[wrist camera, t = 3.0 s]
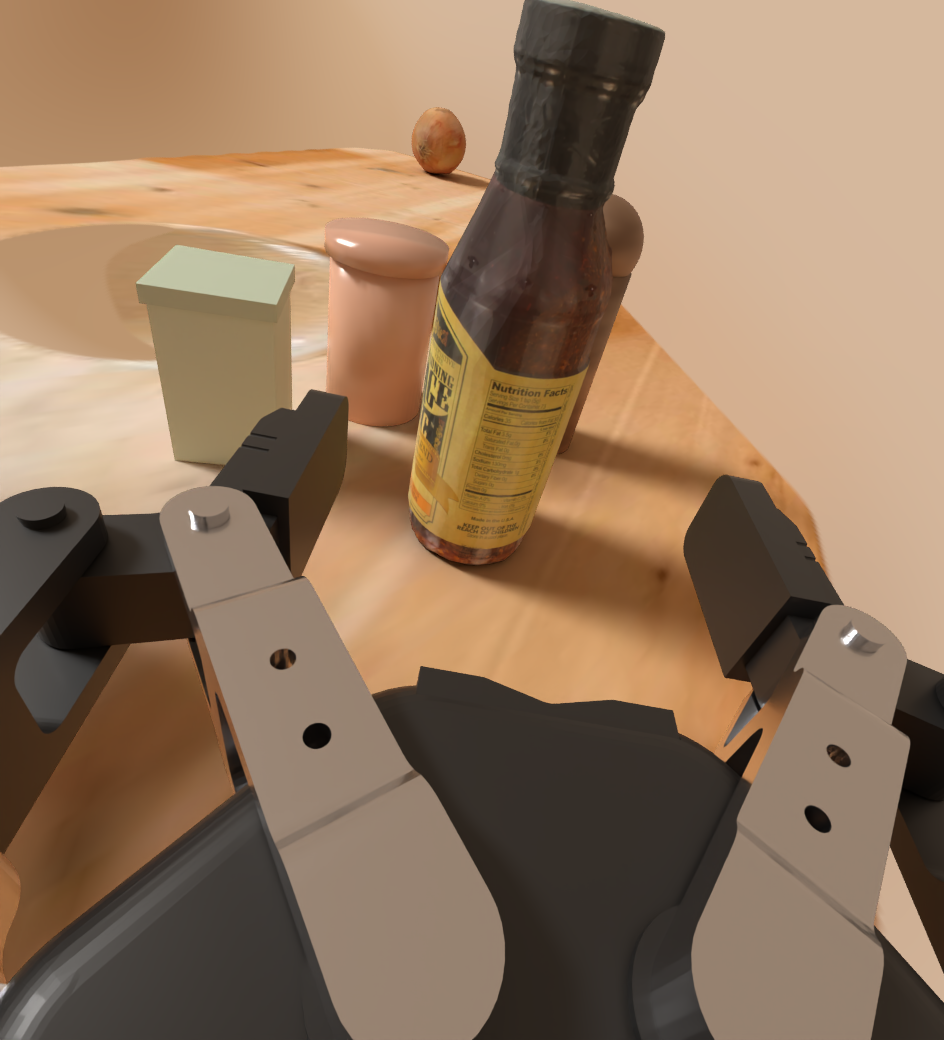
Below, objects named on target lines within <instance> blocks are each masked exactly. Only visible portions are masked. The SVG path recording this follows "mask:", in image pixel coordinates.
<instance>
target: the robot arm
mask: <svg viewBox="0 0 944 1040" xmlns="http://www.w3.org/2000/svg"><path fill="white" fill-rule="evenodd" d="M348 413H349V402H348V397H347V396H342V395H337V394H332V393H327V392H322V391H317V390H312V389H311V390H310V391H309V392H308V393H307V395H306V396H305V398H304V399H303V401H302V402H301V404H300V405H299V406H298V408H297V409H296V411H295V410H290V409H285V408H279V409H278V410H276V411H274V412H272V413H270V414H268V415H266V416H264V417H262V418H261V419H260V420H259V422H258V423H257V424H256V426H255V427H254V428H253V430H252V431H251V432H250V435H248V436H247V437H246V439H245V440H244V441H243V443H242V444H241V447H239V448H238V449H237V451H236V452H235V453H234V455H233V456H232V457H231V459H230V460H229V461H228V462H227V464H226V465H225V466H224V468H223V469H222V470H221V472H220V473H219V474H218V476H217V477H216V478H215V480H214V481H213V482H212V484H211V485H210V486H206V487H199V488H194V489H190V490H187V491H185V492H182V493H180V494H178V495H176V496H175V497H173V498H172V499H170V500H169V501H168V502H167V503H166V504H165V505H164V507H163V508H162V510H161V512H160V513H153V514H130V515H102V513H101V510H100V506H99V503H98V502H97V500H96V499H95V498H94V497H93V496H92V495H90V494H88V493H87V492H84V491H81V490H78V489H74V488H66V487H48V488H40V489H34V490H30V491H26V492H23V493H20V494H17V495H14V496H12V497H10V498H8V499H6V500H4V501H2V502H1V503H0V1040H944V1002H943V1001H942V1000H940V998H939V997H938V996H937V995H936V994H935V993H934V991H933V990H932V989H931V988H930V987H929V986H928V985H927V984H926V982H925V981H924V980H923V979H922V978H921V977H920V976H919V975H918V974H917V973H916V971H915V970H914V969H913V968H912V967H911V966H910V965H909V964H908V962H906V960H905V959H904V958H903V957H902V956H901V955H900V954H899V953H898V951H897V950H896V949H895V948H894V947H893V946H892V945H891V944H890V942H889V941H888V940H887V939H886V938H885V937H884V936H883V935H882V934H881V932H880V931H879V930H878V929H877V928H876V927H875V926H874V919H875V914H876V909H877V904H878V899H879V894H880V890H881V885H882V880H883V875H884V870H885V865H886V860H887V856H888V851H889V846H890V848H891V850H892V852H893V855H894V857H895V860H896V862H897V864H898V867H899V869H900V871H901V874H902V876H903V878H904V881H905V883H906V885H907V888H908V890H909V893H910V895H911V897H912V900H913V902H914V904H915V907H916V909H917V911H918V914H919V916H920V919H921V921H922V923H923V926H924V928H925V930H926V933H927V935H928V937H929V940H930V942H931V945H932V947H933V949H934V951H935V954H936V956H937V958H938V961H939V963H940V966H941V968H942V971H943V973H944V674H942V673H939V672H937V671H935V670H932V669H930V668H927V667H925V666H923V665H920V664H918V663H915V662H913V661H911V660H908V659H907V656H906V652H905V650H904V647H903V646H902V644H901V642H900V641H899V640H898V639H897V637H896V636H895V635H894V634H893V633H892V632H891V631H890V630H889V629H888V628H887V627H886V626H884V625H883V624H882V623H880V622H879V621H878V620H876V619H875V618H873V617H871V616H870V615H868V614H866V613H864V612H862V611H860V610H857V609H855V608H851V607H848V606H844V604H843V603H842V601H841V599H840V598H839V596H838V594H837V593H836V591H835V589H834V588H833V586H832V584H831V583H830V581H829V579H828V578H827V576H826V574H825V573H824V571H823V569H822V568H821V566H820V564H819V563H818V562H816V561H815V559H816V558H815V556H814V554H813V553H812V551H811V549H810V548H809V547H807V543H806V541H805V539H804V538H803V536H802V534H801V533H800V531H799V529H798V528H797V526H796V525H795V524H794V523H793V522H792V521H791V520H790V519H789V518H787V517H786V516H785V515H784V514H783V513H782V512H781V511H780V510H779V509H777V508H776V507H775V505H774V503H773V501H772V500H771V498H770V496H769V494H768V493H767V491H766V489H765V488H764V486H763V484H762V483H760V482H758V481H754V480H749V479H744V478H739V477H734V476H729V475H722V476H721V477H719V478H718V479H717V480H716V481H715V483H714V485H713V486H712V488H711V490H710V491H709V493H708V495H707V497H706V498H705V500H704V502H703V504H702V505H701V507H700V509H699V511H698V512H697V514H696V516H695V517H694V519H693V521H692V523H691V524H690V526H689V528H688V530H687V533H686V536H685V540H684V557H685V560H686V563H687V566H688V569H689V572H690V575H691V578H692V581H693V584H694V587H695V590H696V593H697V596H698V599H699V602H700V605H701V608H702V611H703V614H704V617H705V620H706V623H707V626H708V629H709V632H710V635H711V638H712V641H713V644H714V647H715V650H716V653H717V656H718V659H719V662H720V666H721V669H722V672H723V675H724V677H725V678H730V679H736V680H741V681H747V682H751V684H752V687H753V689H752V690H751V691H750V692H749V693H748V695H747V696H746V697H745V698H744V699H743V701H742V703H741V705H740V707H739V708H738V710H737V712H736V714H735V716H734V717H733V719H732V721H731V723H730V725H729V726H728V728H727V730H726V732H725V734H724V735H723V737H722V739H721V741H720V743H719V744H718V746H717V748H716V750H715V752H714V753H712V752H711V751H709V750H708V749H706V748H705V747H703V746H702V745H700V744H699V743H697V742H695V741H693V740H691V739H689V738H687V737H686V736H684V735H682V734H680V733H678V730H677V726H676V722H675V717H674V713H673V710H667V709H661V708H656V707H650V706H644V705H639V704H633V703H627V702H622V701H616V700H603V701H589V702H575V703H560V704H550V703H546V702H543V701H540V700H538V699H535V698H533V697H530V696H528V695H526V694H523V693H521V692H518V691H516V690H513V689H511V688H509V687H506V686H504V685H501V684H499V683H497V682H494V681H492V680H489V679H487V678H485V677H480V676H474V675H468V674H463V673H457V672H451V671H446V670H440V669H434V668H428V667H423V666H421V667H420V671H419V676H418V681H417V685H416V686H403V687H398V688H393V689H388V690H385V691H381V692H378V693H375V694H372V695H371V694H370V692H369V690H368V688H367V686H366V684H365V682H364V681H363V679H362V677H361V675H360V673H359V671H358V669H357V668H356V666H355V664H354V662H353V660H352V658H351V656H350V655H349V653H348V651H347V649H346V647H345V645H344V643H343V642H342V640H341V638H340V636H339V634H338V632H337V630H336V629H335V627H334V625H333V623H332V621H331V619H330V617H329V616H328V614H327V612H326V610H325V608H324V606H323V604H322V603H321V601H320V599H319V597H318V595H317V593H316V591H315V590H314V588H313V586H312V584H311V583H310V581H309V580H308V579H307V578H306V577H304V576H301V575H302V573H303V571H304V568H305V566H306V564H307V562H308V559H309V557H310V555H311V553H312V550H313V548H314V546H315V544H316V541H317V539H318V537H319V535H320V532H321V530H322V528H323V525H324V523H325V521H326V519H327V516H328V514H329V512H330V510H331V507H332V505H333V503H334V501H335V498H336V496H337V494H338V492H339V489H340V487H341V484H342V480H343V476H344V471H345V465H346V452H347V432H348ZM185 638H186V640H187V643H188V646H189V649H190V652H191V655H192V659H193V662H194V665H195V668H196V671H197V674H198V677H199V681H200V684H201V687H202V690H203V693H204V696H205V699H206V703H207V706H208V709H209V712H210V715H211V718H212V722H213V725H214V728H215V732H216V736H217V740H218V743H219V747H220V751H221V755H222V758H223V762H224V765H225V768H226V772H227V775H228V778H229V781H230V785H231V788H232V791H233V794H234V795H233V796H232V797H230V798H229V799H228V800H226V801H225V802H224V803H223V804H221V805H220V806H219V807H218V808H216V809H215V810H214V811H213V812H211V813H210V814H209V815H207V816H206V817H205V818H204V819H202V820H201V821H200V822H199V823H197V824H196V825H195V826H194V827H192V828H191V829H190V830H189V831H187V832H186V833H185V834H183V835H182V836H181V837H180V838H178V839H177V840H176V841H175V842H173V843H172V844H171V845H170V846H168V847H167V848H166V849H164V850H163V851H162V852H161V853H159V854H158V855H157V856H156V857H154V858H153V859H152V860H151V861H149V862H148V863H147V864H145V865H144V866H143V867H142V868H140V869H139V870H138V871H137V872H135V873H134V874H133V875H132V876H130V877H129V878H128V879H126V880H125V881H124V882H123V883H121V884H120V885H119V886H118V887H116V888H115V889H114V890H113V891H111V892H110V893H109V894H107V895H106V896H105V897H104V898H102V899H101V900H100V901H99V902H97V903H96V904H95V905H94V906H92V907H91V908H90V909H88V910H87V911H86V912H85V913H83V914H82V915H81V916H80V917H78V918H77V919H76V920H75V921H73V922H72V923H71V924H69V925H68V926H67V927H66V928H64V929H63V930H62V931H61V932H59V933H58V934H57V935H56V936H55V937H53V938H52V939H51V940H50V941H49V942H47V943H46V944H45V945H44V946H43V947H42V948H41V949H40V950H39V951H38V952H37V953H36V954H35V955H34V956H33V957H32V958H31V959H30V960H29V961H28V962H27V963H26V964H25V965H24V966H23V967H22V968H21V969H20V970H19V971H18V972H17V973H16V975H15V976H14V977H13V978H12V979H11V980H10V982H9V983H8V984H7V983H6V980H5V977H4V973H3V965H2V960H3V949H4V945H5V941H6V936H7V934H8V931H9V929H10V926H11V924H12V921H13V919H14V916H15V914H16V912H17V908H18V904H19V900H20V890H21V886H20V879H19V876H18V873H17V871H16V869H15V868H14V866H13V865H12V864H11V862H10V861H9V860H8V859H7V858H6V857H5V856H4V855H3V854H4V853H5V851H6V849H7V848H8V846H9V844H10V843H11V841H12V839H13V838H14V836H15V834H16V833H17V831H18V829H19V828H20V826H21V824H22V823H23V821H24V819H25V818H26V816H27V815H28V813H29V811H30V810H31V808H32V806H33V805H34V803H35V801H36V800H37V798H38V796H39V795H40V793H41V791H42V790H43V788H44V786H45V785H46V783H47V781H48V780H49V778H50V776H51V775H52V773H53V771H54V770H55V768H56V766H57V765H58V763H59V761H60V760H61V758H62V756H63V755H64V753H65V752H66V750H67V748H68V747H69V745H70V743H71V742H72V740H73V738H74V737H75V735H76V733H77V732H78V730H79V728H80V727H81V725H82V723H83V722H84V720H85V718H86V717H87V715H88V713H89V712H90V710H91V708H92V707H93V705H94V703H95V702H96V700H97V698H98V697H99V695H100V693H101V692H102V690H103V689H104V687H105V685H106V684H107V682H108V680H109V679H110V677H111V675H112V674H113V672H114V670H115V669H116V667H117V665H118V664H119V662H120V660H121V659H122V657H123V655H124V654H125V652H126V650H127V649H128V647H129V645H130V644H132V643H143V642H153V641H164V640H175V639H185Z"/></svg>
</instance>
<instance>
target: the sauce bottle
mask: <svg viewBox="0 0 944 1040" xmlns="http://www.w3.org/2000/svg"><path fill="white" fill-rule="evenodd" d="M664 40H665V32H664V31H663V30H662V29H660V28H658V27H655V26H653V25H650V24H648V23H645V22H642V21H639V20H636V19H633V18H630V17H627V16H623V15H621V14H618V13H613V12H610V11H606V10H603V9H600V8H597V7H594V6H590V5H587V4H583V3H579V2H575V1H570V0H525V2H524V5H523V10H522V15H521V20H520V24H519V28H518V31H517V35H516V41H515V45H514V59H515V63H516V74H515V81H514V85H513V90H512V96H511V99H510V104H509V112H508V117H507V121H506V127H505V131H504V136H503V141H502V146H501V149H500V152H499V155H498V157H497V159H496V161H495V167H496V170H495V172H494V174H493V177H492V178H491V181H490V183H489V185H488V187H487V189H486V191H485V193H484V195H483V197H482V199H481V201H480V203H479V205H478V207H477V209H476V211H475V213H474V215H473V217H472V219H471V220H470V222H469V224H468V226H467V228H466V230H465V232H464V234H463V235H462V237H461V239H460V241H459V243H458V245H457V247H456V249H455V250H454V252H453V254H452V256H451V258H450V260H449V262H448V264H447V265H446V267H445V269H444V271H443V273H442V275H441V279H440V285H439V291H438V298H437V304H436V311H435V318H434V325H433V332H432V339H431V345H430V352H429V358H428V364H427V370H426V376H425V383H424V391H423V399H422V405H421V411H420V418H419V425H418V431H417V438H416V445H415V452H414V458H413V465H412V472H411V479H410V486H409V492H408V500H409V513H410V521H411V525H412V529H413V530H414V532H415V535H416V537H417V538H418V540H419V542H420V543H421V544H422V545H423V546H424V547H426V549H428V550H431V551H433V552H435V553H437V554H438V555H440V556H442V557H444V558H446V559H448V560H450V561H455V562H459V563H463V564H472V565H482V564H491V563H495V562H500V561H503V560H505V559H506V558H508V557H509V556H510V555H511V554H512V553H513V552H515V550H516V549H517V547H518V546H519V544H520V543H521V541H522V539H523V536H524V534H525V533H526V532H527V530H528V529H529V527H530V525H531V523H532V520H533V518H534V515H535V512H536V509H537V506H538V503H539V501H540V498H541V495H542V493H543V490H544V487H545V484H546V482H547V479H548V476H549V474H550V471H551V468H552V466H553V463H554V460H555V457H556V455H557V452H558V449H559V446H560V444H561V441H562V438H563V435H564V433H565V430H566V427H567V424H568V422H569V419H570V416H571V413H572V411H573V408H574V405H575V402H576V400H577V397H578V394H579V391H580V389H581V386H582V383H583V380H584V378H585V375H586V372H587V369H588V367H589V363H590V357H589V355H590V352H591V349H592V347H593V344H594V340H595V337H596V335H597V332H598V330H599V326H600V324H601V321H602V318H603V315H604V314H605V312H606V310H607V306H608V302H609V299H610V296H611V289H612V282H613V275H612V248H611V247H610V246H609V244H608V241H607V232H606V227H605V219H604V214H603V206H604V204H605V202H606V201H608V199H609V198H610V197H611V195H612V193H613V190H614V175H615V172H616V169H617V166H618V163H619V160H620V157H621V153H622V150H623V147H624V144H625V141H626V138H627V135H628V132H629V127H630V125H631V122H632V119H633V116H634V113H635V111H636V109H637V107H638V106H639V105H640V104H641V103H642V101H643V100H644V98H645V95H646V93H647V91H648V90H649V88H650V86H651V83H652V79H653V75H654V71H655V68H656V66H657V63H658V60H659V57H660V53H661V50H662V46H663V43H664Z"/></svg>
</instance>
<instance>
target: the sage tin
mask: <svg viewBox="0 0 944 1040" xmlns="http://www.w3.org/2000/svg"><path fill="white" fill-rule="evenodd" d="M294 282H295V265H294V264H288V263H282V262H276V261H270V260H264V259H258V258H252V257H246V256H240V255H234V254H228V253H222V252H216V251H210V250H204V249H198V248H192V247H186V246H180V245H175V246H174V247H173V248H172V249H171V250H170V251H169V252H168V253H167V254H166V255H165V256H164V257H163V258H162V259H161V260H160V261H159V262H157V263H156V264H155V265H154V266H153V267H152V268H151V269H150V270H149V271H148V272H147V273H146V274H145V275H144V276H143V277H142V278H141V279H140V280H138V281H137V282H136V288H137V294H138V299H139V303H141V304H147V309H148V314H149V320H150V325H151V331H152V337H153V342H154V348H155V353H156V359H157V364H158V370H159V375H160V381H161V386H162V392H163V397H164V403H165V409H166V414H167V420H168V425H169V431H170V436H171V442H172V447H173V453H174V458H175V460H178V461H188V462H199V463H209V464H219V465H226V464H227V462H228V461H229V460H230V459H231V457H232V456H233V455H234V453H235V452H236V451H237V449H238V448H239V447H241V444H242V443H243V441H244V440H245V439H246V437H247V436H248V435H250V432H251V431H252V430H253V428H254V427H255V426H256V424H257V423H258V422H259V420H260V419H261V418H262V417H264V416H266V415H268V414H270V413H272V412H274V411H276V410H278V409H279V408H285V409H290V410H292V371H291V306H290V291H291V289H292V287H293V284H294Z"/></svg>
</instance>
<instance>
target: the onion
mask: <svg viewBox="0 0 944 1040" xmlns="http://www.w3.org/2000/svg"><path fill="white" fill-rule="evenodd" d="M465 148H466V140H465V134H464V131H463V128H462V126H461V124H460V122H459V120H458V119H457V117H456V116H455V115H454V114H453V113H452V112H451V111H450V110H448V109H445V108H439V107H435V108H431V109H428V110H427V111H425V112H424V113H423V115H422V116H421V117H420V119H419V120H418V122H417V123H416V125H415V128H414V130H413V134H412V150H413V153H414V156H415V158H416V159H417V161H418V162H419V164H420V165H421V166H422V168H423V169H424V170H426V171H427V172H429V173H442V174H449V173H451V172H452V171H454V170H455V169H456V168H457V167H458V165H459V164H460V163H461V161H462V159H463V156H464V153H465Z"/></svg>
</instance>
